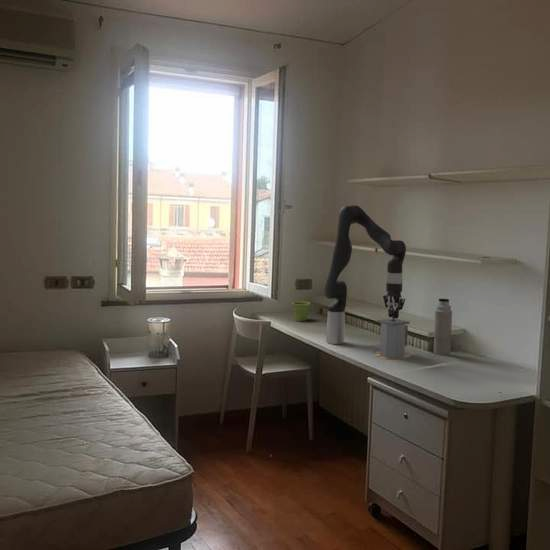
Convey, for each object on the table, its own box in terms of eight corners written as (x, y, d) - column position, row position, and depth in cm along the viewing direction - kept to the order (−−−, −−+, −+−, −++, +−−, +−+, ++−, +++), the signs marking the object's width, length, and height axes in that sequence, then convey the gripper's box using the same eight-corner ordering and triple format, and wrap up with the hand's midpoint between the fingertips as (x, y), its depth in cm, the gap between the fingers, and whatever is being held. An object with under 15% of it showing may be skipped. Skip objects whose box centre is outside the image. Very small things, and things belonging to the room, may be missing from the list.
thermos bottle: (449, 353, 309) (451, 298, 306) (450, 357, 301) (453, 300, 298) (433, 352, 310) (435, 297, 307) (434, 356, 302) (436, 299, 299)
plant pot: (292, 318, 404) (292, 301, 403) (310, 319, 402) (310, 301, 401) (290, 321, 392) (290, 304, 391) (309, 322, 391) (309, 304, 389)
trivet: (365, 355, 303) (365, 353, 303) (394, 351, 312) (394, 349, 312) (390, 363, 288) (390, 361, 288) (419, 359, 297) (419, 357, 296)
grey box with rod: (375, 354, 302) (376, 319, 300) (398, 351, 309) (399, 317, 307) (390, 359, 292) (392, 323, 290) (413, 355, 299) (415, 321, 297)
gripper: (378, 280, 300) (377, 316, 302) (398, 284, 288) (397, 320, 290) (390, 280, 304) (389, 314, 306) (410, 283, 292) (409, 319, 294)
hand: (393, 317), depth 298 cm, fingers closed on plunger, 3 cm apart
